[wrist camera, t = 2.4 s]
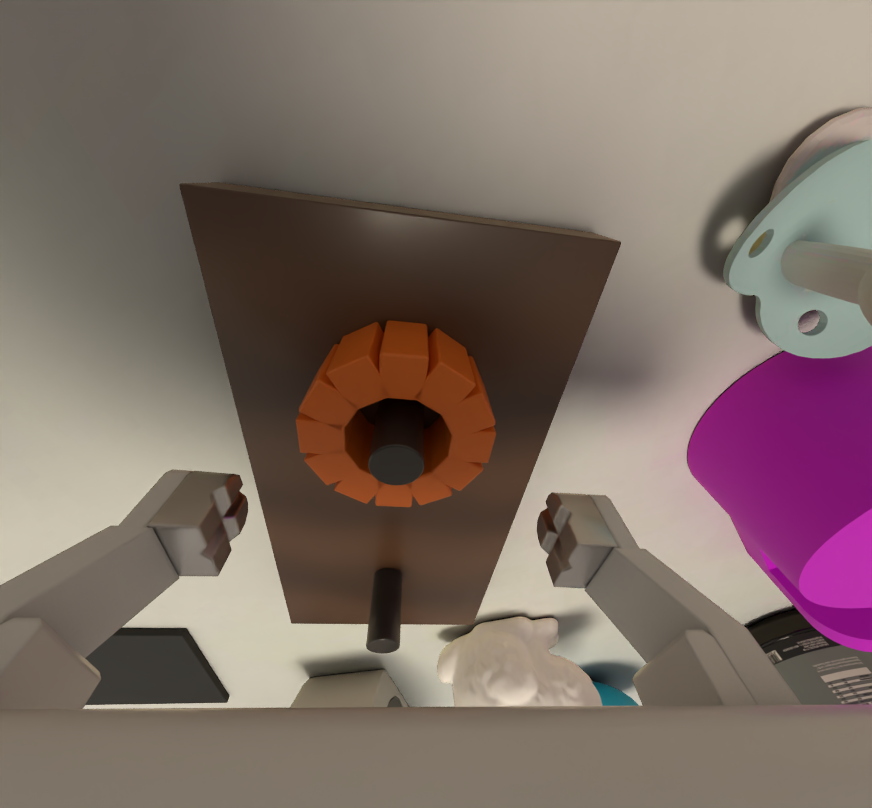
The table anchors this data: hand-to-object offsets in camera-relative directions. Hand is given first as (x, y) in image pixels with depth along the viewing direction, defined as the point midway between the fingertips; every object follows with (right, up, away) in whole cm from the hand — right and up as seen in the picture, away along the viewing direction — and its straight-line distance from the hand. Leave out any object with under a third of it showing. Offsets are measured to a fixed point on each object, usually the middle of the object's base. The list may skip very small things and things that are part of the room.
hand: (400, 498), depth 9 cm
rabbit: (+8, -17, +20) cm, 27 cm away
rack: (-1, -1, +8) cm, 9 cm away
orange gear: (0, +3, +3) cm, 4 cm away
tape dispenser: (+21, 0, +9) cm, 22 cm away
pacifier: (+14, +9, +3) cm, 16 cm away
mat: (-25, -20, +20) cm, 38 cm away
